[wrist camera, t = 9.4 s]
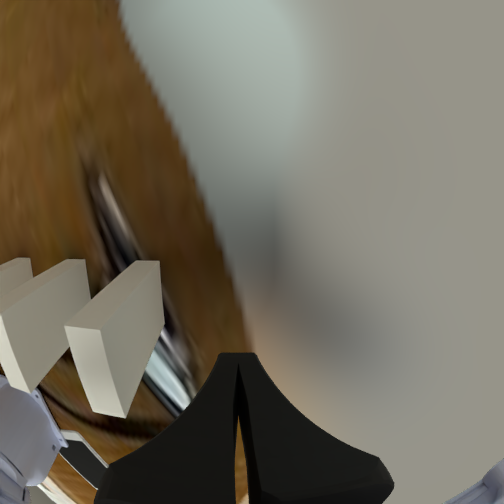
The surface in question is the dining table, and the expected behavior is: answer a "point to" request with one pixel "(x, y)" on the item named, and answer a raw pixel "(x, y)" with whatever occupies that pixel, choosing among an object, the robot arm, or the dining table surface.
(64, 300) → the ivory domino
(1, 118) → the dining table surface
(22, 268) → the ivory domino
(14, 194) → the dining table surface
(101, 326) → the ivory domino
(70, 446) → the smartphone
